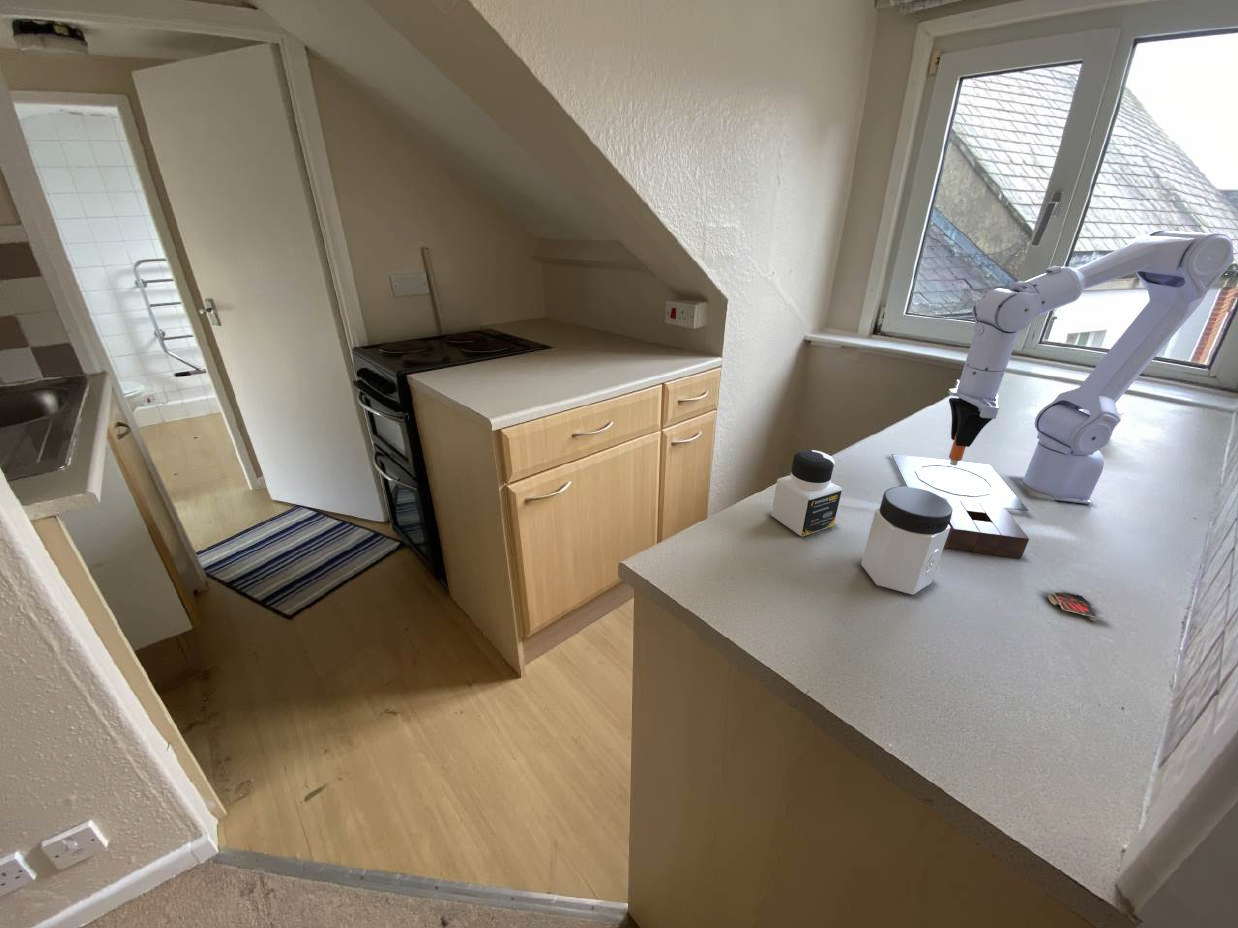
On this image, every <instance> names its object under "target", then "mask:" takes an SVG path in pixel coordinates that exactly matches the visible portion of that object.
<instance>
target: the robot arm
mask: <svg viewBox="0 0 1238 928" xmlns="http://www.w3.org/2000/svg"><path fill="white" fill-rule="evenodd" d="M1234 261H1235V254H1234V244H1233V240H1232V238H1231V237H1230V236H1229V235H1228V234H1227V233H1223V232H1211V233H1207V232H1204V233H1203V232H1189V231H1170V230H1167V229H1157V230H1154V231H1151V232H1150V233H1148V234H1146V235H1145V234H1144V235H1141V236H1137V237H1135V238H1134V239H1133V240H1132V242H1130V243H1129V244H1127V245H1125V246H1122V247H1120V248H1118V249H1116V250H1114V251H1111V252H1109V253H1107V254H1105V255H1103V256H1101V257H1099V258H1096V259H1094V260H1092V261H1090V262H1088V263H1086V264H1083V265H1081V266H1079V267H1077V268H1074V269H1073V268H1071V267H1069V266H1056V265H1053V266H1050V267H1047V268H1046V269H1045V273H1043V274H1040V275H1038V276H1035V277H1033V278H1030V279H1028V280H1025V281H1023V280H1019V281H1016V282H1014V283H1013V285H1012V286H1010V288H1008V289H1007V288H994V289H991V290H989V291H987V292H986V293H985V294H984V295H983V296H981V298H980V299H979V300H978V302H977V303H976V304H974V305H973V306H972V311H971V312H972V313H971V314H972V317H973V320H974V328H973V336H972V339H971V342H970V346H969V350H968V352H967V356H966V359H965V362H964V365H963V369H962V371H961V376H960V378H959V379H956V381H955V383H954V387H953V388H948V391H947V394H948V395H950V396H952V397H950V398H949V399H948V403H949V406H950V412H951V413H950V414H951V425H950V426H951V427H950V439H951V440H952V441H954V438H955V435H956V439H955V444H956V445H957V446H965V447H966V448H970V447H971V445H972V444H973V443H974V441H976V439H977V437H978V435H979V434H980V433H981V432H982V430H983V429H984V428H985V426H987V425H988V424H989V423H990V422H991V421H993V420H996V419H997V416H998V413H999V410H1000V406H999V405H998V400H999V395H998V394H999V390H1000V389H1001V388H1000V387H1001V385H1002V382H1003V379H1004V376H1005V374H1006V370H1007V367H1008V364H1009V361H1010V359H1011V356H1012V353H1013V351H1014V347H1015V344H1016V341H1017V338H1018V336H1019V333H1020V331H1023V330H1025V329H1026V328H1027V327H1029V326H1030V324H1031V323H1032V322H1033V321H1034V320H1035V319H1036V318H1037V317H1040V316H1041V315H1044V314H1047V313H1050V312H1051V311H1054V310H1056V309H1059V308H1062V307H1064V306H1067V305H1070V304H1072V303H1074V302H1076V301H1077V300H1078V299H1080V297H1081V295H1082V293H1083V291H1086V290H1088V289H1091V288H1093V287H1096V286H1100V285H1103V284H1105V283H1108V282H1112V281H1114V280H1117V279H1120V278H1124V277H1126V276H1129V275H1133V274H1136V276H1137V277H1138V280H1140V283H1141V284H1142V285H1143V287H1144V289H1145V290H1146V291H1147V293H1148V298H1149V301H1148V302H1147V304H1146V305H1145V306H1144V307H1143V308H1142V310H1141V311H1140V312H1139V314H1137V316H1136V317H1135V318H1134V319H1133V321H1132V322H1131V323H1130V324H1129V326H1128V327H1127V328H1126V329H1125V331H1124V332H1122V334H1121V336H1120V337H1119V338H1118V339H1117V340H1116V342H1115V343H1114V344H1113V345H1112V346H1111V348H1110V349H1109V350H1108V351H1107V352H1106V353H1105V355H1104V356H1103V357H1102V359H1101V360H1100V361H1099V362H1098V363H1097V364H1096V366H1095V367H1094V368H1093V370H1092V371H1091V372H1090V373H1089V374H1088V376H1087V377H1086V378H1085V379H1084V381H1082V383H1081V385H1079V387H1078V388H1074V389H1070V390H1067V391H1064V392H1061V393H1059V394H1058V395H1057V396H1056V398H1054V400H1053V401H1051V402H1050V403H1048V404H1047V405H1045V406H1044V407H1043V408H1042V409H1040V411H1039V412H1038V413H1037V415H1036V416H1035V419H1034V428H1035V430H1036V431H1037V432H1038V433H1037V435H1036V438H1037V439H1038V442H1037V444H1036V446H1035V448H1034V452H1033V454H1032V457H1031V459H1030V461H1029V463H1028V467H1027V469H1026V472H1025V474H1024V476H1023V478H1022V482H1023V484H1024V485H1025V486H1027V487H1028V488H1030V489H1032V490H1034V491H1036V492H1039V493H1042V494H1046V495H1049V496H1050V497H1051V498H1052V499H1053V501H1058V502H1059V501H1060V502H1069V503H1077V504H1084V505H1090V504H1091V503H1092V501H1091V500H1090V498H1091V496H1092V494H1093V492H1094V490H1095V488H1096V486H1097V484H1098V481H1099V479H1100V477H1101V474H1102V473H1103V471H1104V465H1105V459H1104V455H1103V454H1102V452H1101V451H1100V450H1101V449H1103V448H1104V447H1105V446H1106V445H1107V444H1108V443H1109V441H1110V440H1111V438H1112V435H1113V432H1114V430H1115V428H1116V427H1117V425H1118V424H1119V423H1120V422H1121V421H1122V418H1120V415H1119V413H1118V411H1117V408H1118V407H1117V405H1116V404H1117V402H1118V401H1119V399H1121V398H1122V396H1123V395H1124V394H1125V393H1126V391H1127V390H1128V389H1129V388H1130V387H1131V386H1132V384H1133V383H1134V382H1135V381H1136V380H1137V379H1138V378H1139V376H1140V375H1141V374H1142V373H1143V372H1144V370H1145V369H1146V368H1147V367H1148V366H1149V365H1150V364H1151V362H1152V361H1153V360H1154V359H1155V358H1156V356H1157V355H1158V354H1159V353H1160V352H1161V351H1162V349H1164V347H1166V345H1167V344H1168V343H1169V342H1170V340H1171V339H1172V338H1173V337H1174V335H1176V334H1177V332H1178V331H1179V330H1180V328H1181V327H1182V326H1183V325H1184V324H1185V323H1186V322H1187V321H1188V320H1189V318H1190V317H1191V316H1192V315H1193V313H1195V312H1196V310H1197V309H1198V308H1199V307H1200V305H1201V304H1202V302H1203V301H1204V299H1205V298H1206V296H1207V294H1208V292H1209V291H1210V290H1211V289H1212V287H1213V286H1214V285H1215V284H1216V283H1217V282H1218V280H1219V279H1220V278H1221V277H1222V275H1223V274H1224V273H1226V271H1228V269H1229V267H1230V266H1231V265H1233V263H1234ZM1083 409H1086V410H1088V411H1089V412H1090V415H1089V414H1087V413H1084V412H1082V411H1083Z"/></svg>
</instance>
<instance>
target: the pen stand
mask: <svg viewBox="0 0 1238 928" xmlns="http://www.w3.org/2000/svg"><path fill="white" fill-rule="evenodd" d="M944 499H945V500H946V501H948V502H949V503H950V505H951V506H952V509H953V511H952V516H951V520H950V523H949V524H948V525H949V526H950V527H951V528H950V531H949V534H948V537H947V539H946V542H945V545H944V546H945V547H946V549H950V550H957V551H966V552H973V553H978V554H985V555H986V554H987V555H993V556H1000V557H1006V558H1015V559H1022V557H1023V555H1024V553H1025V551H1026V550H1025V549H1026V548H1027V546H1028V544H1029V542H1030V538H1029V536H1028V535H1027V534H1026V532H1025V531H1024V530H1023V528H1022V527H1021V526H1020V525H1019V524H1018V522H1017V521H1016V519H1015V518H1014V517H1013V516H1012V515H1011V513H1010V512H1009V511H1008V509H1007V508H1005V507H1004V506H1003V505H999V504H991V503H982V502H974V501H966V500H958V499H949V498H944Z"/></svg>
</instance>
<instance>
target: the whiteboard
mask: <svg viewBox="0 0 1238 928" xmlns="http://www.w3.org/2000/svg"><path fill="white" fill-rule="evenodd" d="M891 456H892V458H893V461H894V463H895V465H896V466H897V469H898V471H899V473H900V475H901V477H902V479H903V481H904V483H905V485H906V487H914V488H919V489H923V490H926V491H929V492H932V493H934V494H937V495H939V496H940V497H942V498H949V499H958V500H966V501H974V502H982V503H991V504H999V505H1003V506H1004V507H1005V508H1006V509H1011V510H1016V511H1017V510H1018V511H1025V512H1029V509H1028V507H1026V505H1025V504H1024V503H1023V502H1022V501H1021V500H1020V499H1019V497H1018V495H1016V493H1014V492H1013V490H1012V489H1011V488H1010V486H1009V485H1008V484H1007V483H1006V482H1005V481H1004V480H1003V478H1002V477H1001V476H1000V475H999V474H998V472H997V471H996V470H995V469H994V468H993V467H992V465H991V464H987V463H986V464H985V463H976V462H967V461H958V465H957V466H953V465H950V461H951V459H950V460H949V459H939V458H931V457H922V456H912V455H905V454H895V453H891Z"/></svg>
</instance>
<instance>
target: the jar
mask: <svg viewBox="0 0 1238 928" xmlns="http://www.w3.org/2000/svg"><path fill="white" fill-rule="evenodd" d="M880 502H881V503H880V505H879V508H877V509H875V511H874V515H873V518H872V522H871V526H870V530H869V533H868V538H867V541H866V544H865V548H864V552H863V556H862V559H861V563H860V566H861V567H862V568H863V569H864V570H865V572H866V573H867V575H868V576H869V577H870V578H871V580H872V581H873V583H874V584H875V585H876V586H877V587H882V588H885V589H886V588H887V589H890V590H893V591H896V592H897V591H898V592H901V593H904V594H908V595H910V596H911V595H912V596H914V595H916V594H917V593H918V592H920V591H922V590H923V589H924V588H926V587H928V586H929V585H930V584H932V582H933V580H934V577H935V573H936V570H937V567H938V565H939V562H940V559H941V556H942V553H943V550H944V548H945V546H946V545H945V542H946V539H947V537H948V534H949V531H950V528H951V527H950V526H949V525H948V524H949V523H950V520H951V516H952V511H953V509H952V506H951V505H950V503H949V502H948V501H946V500H945V499H944V498H942V497H940V496H939V495H937V494H934V493H932V492H929V491H926V490H923V489H919V488H914V487H907V486H893V487H890V488H888V489H886V490H885V491H884V492H883V494H882V499H881V501H880Z"/></svg>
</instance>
